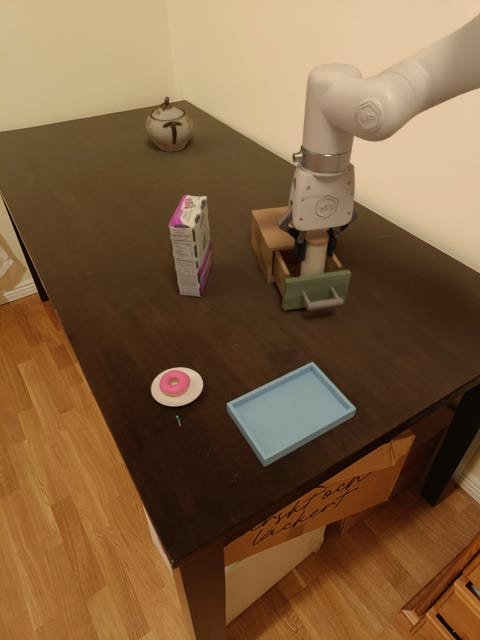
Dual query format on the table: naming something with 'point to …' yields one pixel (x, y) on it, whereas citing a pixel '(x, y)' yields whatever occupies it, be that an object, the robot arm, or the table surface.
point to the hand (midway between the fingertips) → (314, 254)
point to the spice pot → (315, 252)
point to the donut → (177, 387)
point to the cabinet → (269, 237)
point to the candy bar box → (191, 245)
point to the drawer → (309, 282)
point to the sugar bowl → (169, 127)
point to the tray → (289, 412)
